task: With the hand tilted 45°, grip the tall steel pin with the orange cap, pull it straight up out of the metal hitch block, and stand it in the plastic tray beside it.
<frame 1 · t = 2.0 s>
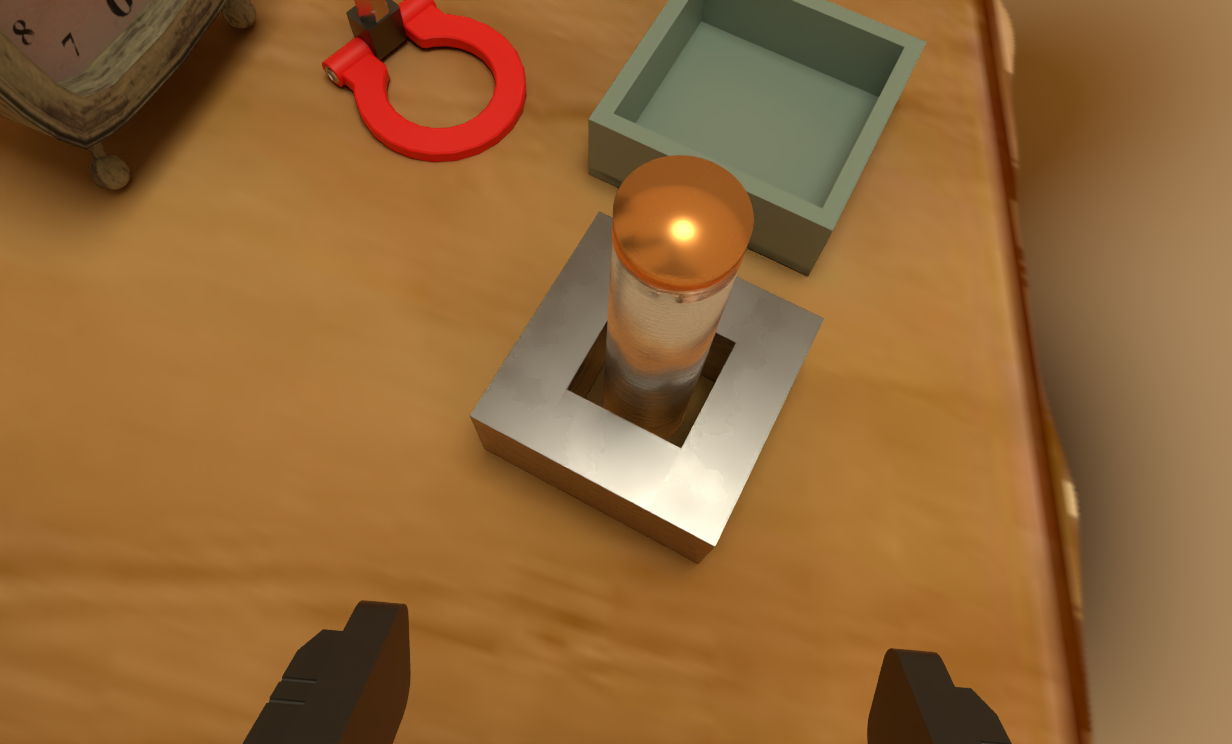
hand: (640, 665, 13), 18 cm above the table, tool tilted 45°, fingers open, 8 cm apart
tray: (746, 136, 39), on the table
hitch block: (644, 403, 34), on the table
tabletop clock: (141, 84, 40), on the table
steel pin: (659, 333, 27), in the hitch block
tow hook: (438, 91, 40), on the table
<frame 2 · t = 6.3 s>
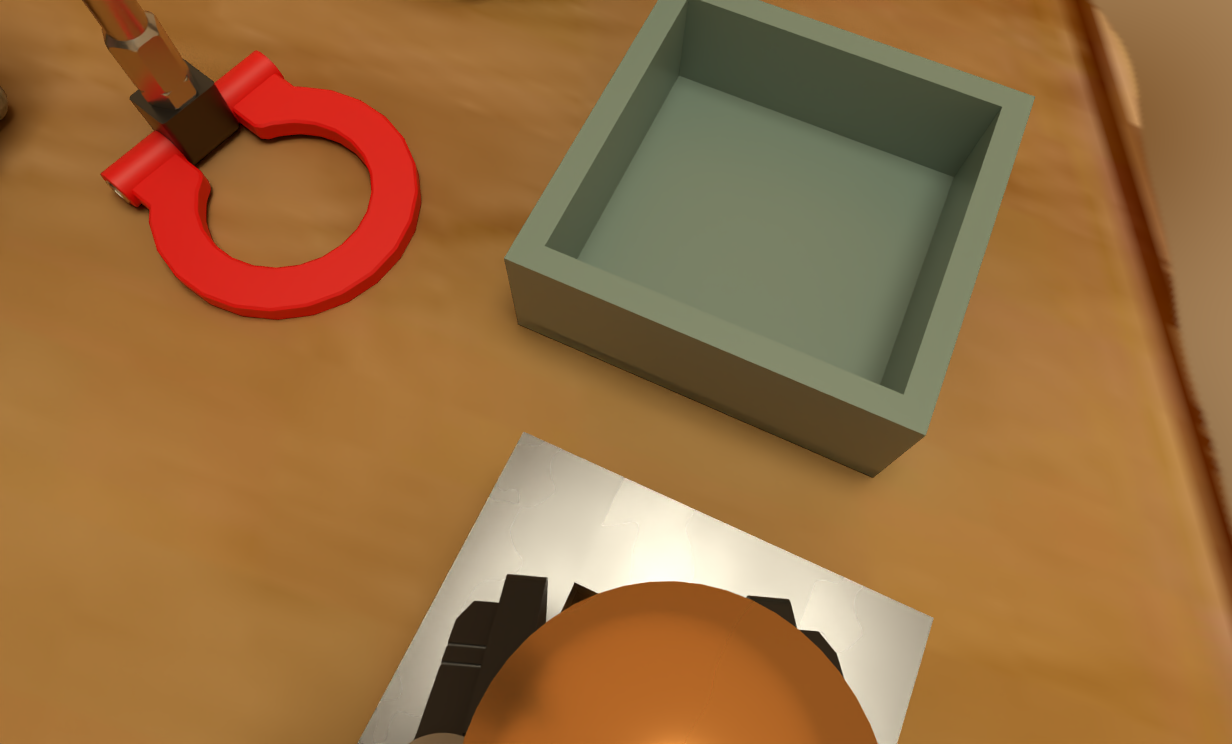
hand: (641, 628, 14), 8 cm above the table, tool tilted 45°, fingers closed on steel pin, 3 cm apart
tray: (757, 248, 26), on the table
hitch block: (623, 733, 20), on the table
tow hook: (288, 204, 27), on the table
when the fingers open (9 cm above the table, at t = 14.5 s): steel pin drops 1 cm, resting on tray.
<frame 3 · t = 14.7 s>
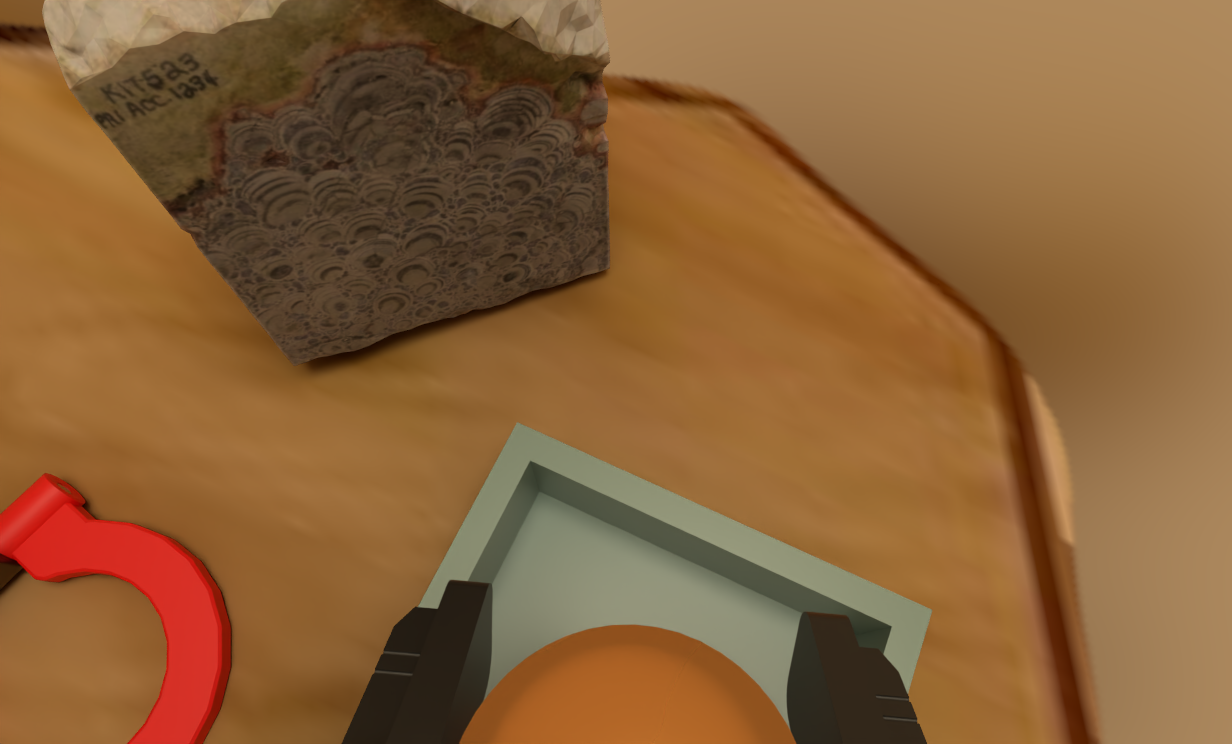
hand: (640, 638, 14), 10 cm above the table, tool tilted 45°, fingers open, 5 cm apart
tray: (619, 729, 22), on the table
geological specimen: (440, 264, 28), on the table
tow hook: (78, 663, 23), on the table
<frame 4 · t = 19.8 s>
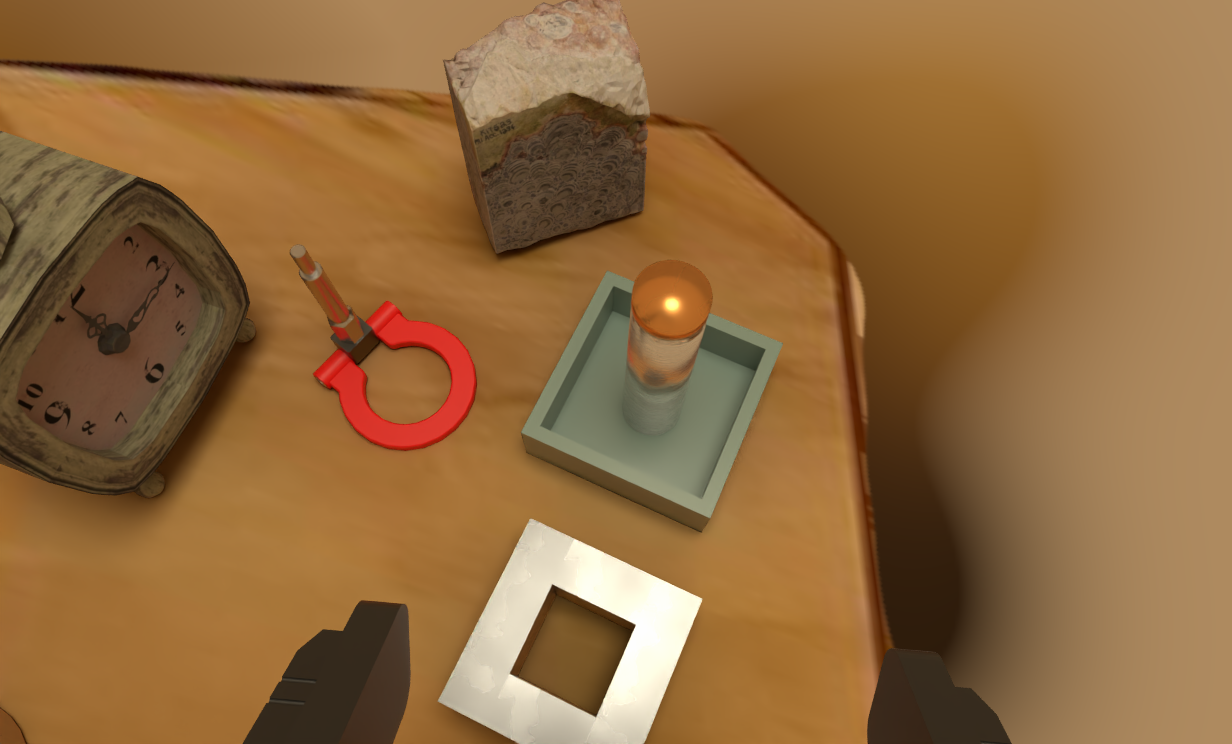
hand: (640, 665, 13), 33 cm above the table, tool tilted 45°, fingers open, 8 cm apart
tray: (651, 409, 50), on the table
hitch block: (576, 653, 44), on the table
tabletop clock: (167, 395, 50), on the table
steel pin: (660, 360, 42), in the tray, point 8 cm above the table
geological specimen: (557, 209, 55), on the table
tow hook: (406, 384, 50), on the table
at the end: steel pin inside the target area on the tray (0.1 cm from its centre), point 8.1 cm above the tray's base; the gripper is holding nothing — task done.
